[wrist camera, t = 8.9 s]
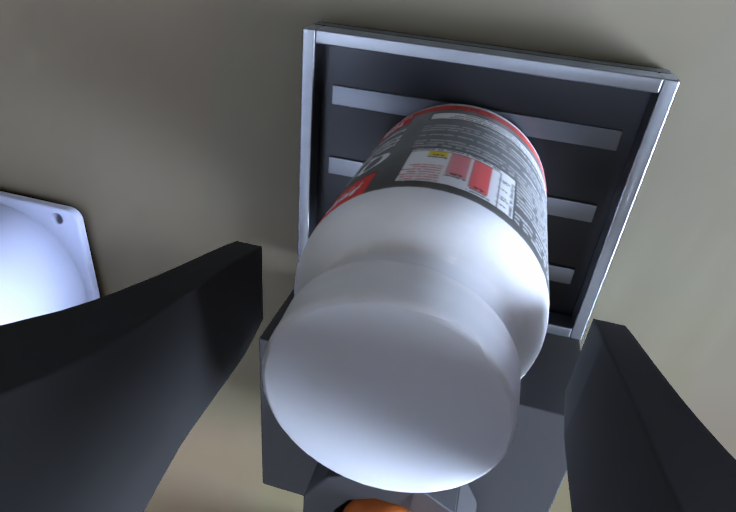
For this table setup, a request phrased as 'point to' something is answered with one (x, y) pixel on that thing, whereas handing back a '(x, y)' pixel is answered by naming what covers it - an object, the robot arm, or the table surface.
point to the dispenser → (463, 503)
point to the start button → (373, 506)
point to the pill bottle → (418, 307)
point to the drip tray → (511, 101)
